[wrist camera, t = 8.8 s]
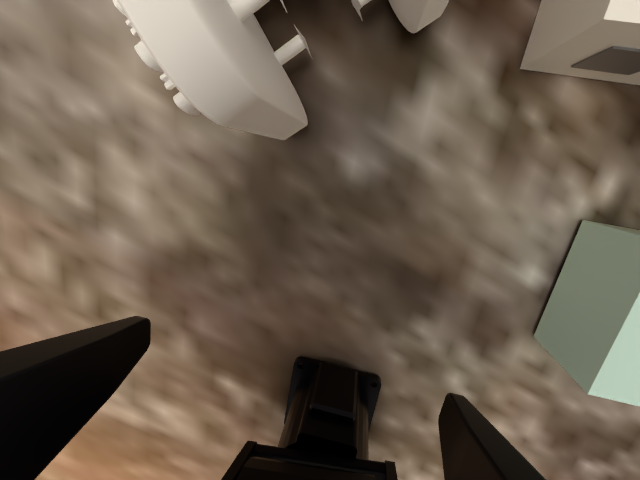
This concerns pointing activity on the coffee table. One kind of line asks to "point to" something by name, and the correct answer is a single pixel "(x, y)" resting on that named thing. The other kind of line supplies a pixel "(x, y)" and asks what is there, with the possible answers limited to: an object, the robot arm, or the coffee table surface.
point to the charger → (598, 313)
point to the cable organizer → (234, 58)
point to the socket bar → (586, 40)
